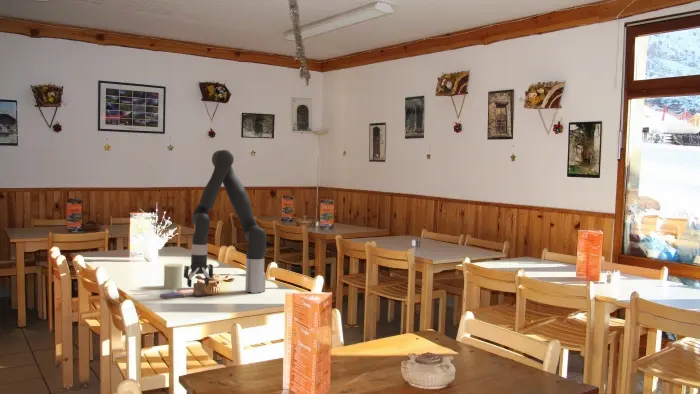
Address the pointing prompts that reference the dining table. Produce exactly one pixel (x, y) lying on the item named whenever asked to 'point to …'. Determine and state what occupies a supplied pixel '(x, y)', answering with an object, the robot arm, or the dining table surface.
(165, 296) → the ink pad
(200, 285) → the stamp
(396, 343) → the dining table surface
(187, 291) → the print board
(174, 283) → the can
